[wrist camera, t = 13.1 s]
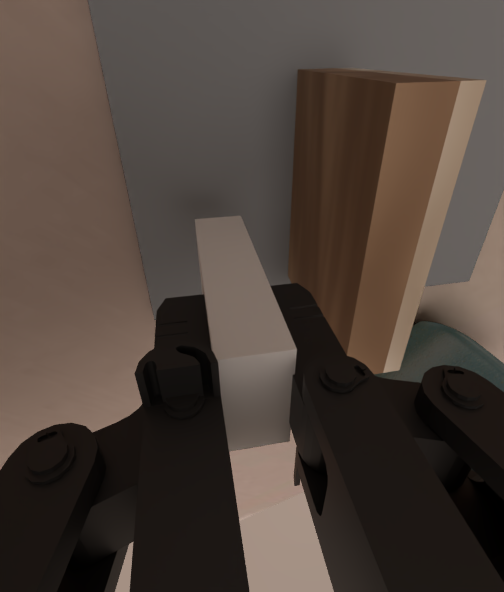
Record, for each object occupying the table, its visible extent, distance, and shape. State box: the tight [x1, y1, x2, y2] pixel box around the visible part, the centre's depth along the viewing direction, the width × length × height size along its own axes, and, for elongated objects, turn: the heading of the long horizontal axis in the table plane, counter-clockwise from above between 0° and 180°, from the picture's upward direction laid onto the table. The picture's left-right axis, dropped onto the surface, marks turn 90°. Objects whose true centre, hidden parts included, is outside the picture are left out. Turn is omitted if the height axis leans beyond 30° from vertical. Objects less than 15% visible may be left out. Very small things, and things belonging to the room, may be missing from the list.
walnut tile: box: [288, 68, 487, 374], centre depth 15 cm, size 2×10×8 cm, turn 1°
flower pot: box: [374, 321, 504, 472], centre depth 24 cm, size 9×9×9 cm
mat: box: [88, 0, 504, 320], centre depth 18 cm, size 20×16×1 cm
